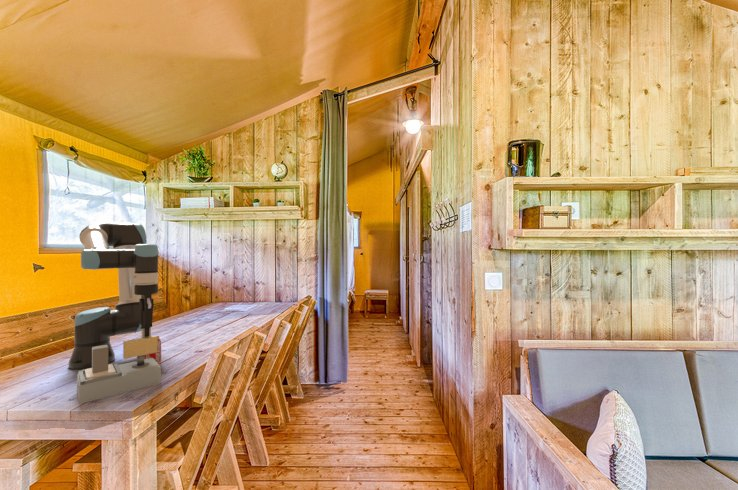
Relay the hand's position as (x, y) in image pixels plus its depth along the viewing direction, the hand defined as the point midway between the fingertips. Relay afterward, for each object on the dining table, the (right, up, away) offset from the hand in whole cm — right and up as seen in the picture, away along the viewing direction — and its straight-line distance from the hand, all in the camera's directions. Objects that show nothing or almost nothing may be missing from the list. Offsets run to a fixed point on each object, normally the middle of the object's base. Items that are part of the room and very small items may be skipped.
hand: (146, 344), depth 121 cm
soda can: (-5, -13, +10) cm, 17 cm away
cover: (-6, -6, -14) cm, 16 cm away
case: (-2, -12, -10) cm, 16 cm away
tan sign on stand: (+2, -6, -5) cm, 8 cm away
